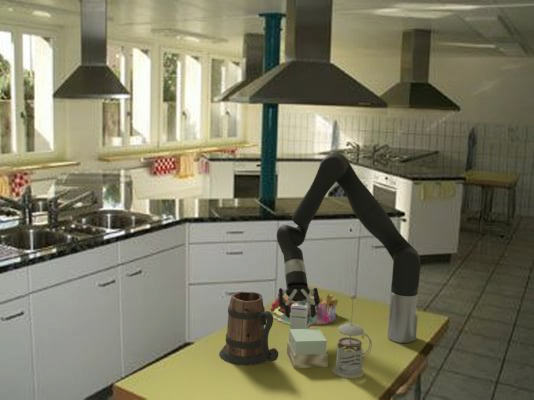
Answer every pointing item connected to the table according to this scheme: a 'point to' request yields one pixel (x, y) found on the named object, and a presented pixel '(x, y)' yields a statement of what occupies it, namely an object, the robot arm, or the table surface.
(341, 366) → the french press
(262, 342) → the tankard
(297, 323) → the syrup box
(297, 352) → the tower top block
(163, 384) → the table surface
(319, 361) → the tower bottom block
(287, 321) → the candy dessert plate
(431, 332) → the table surface
